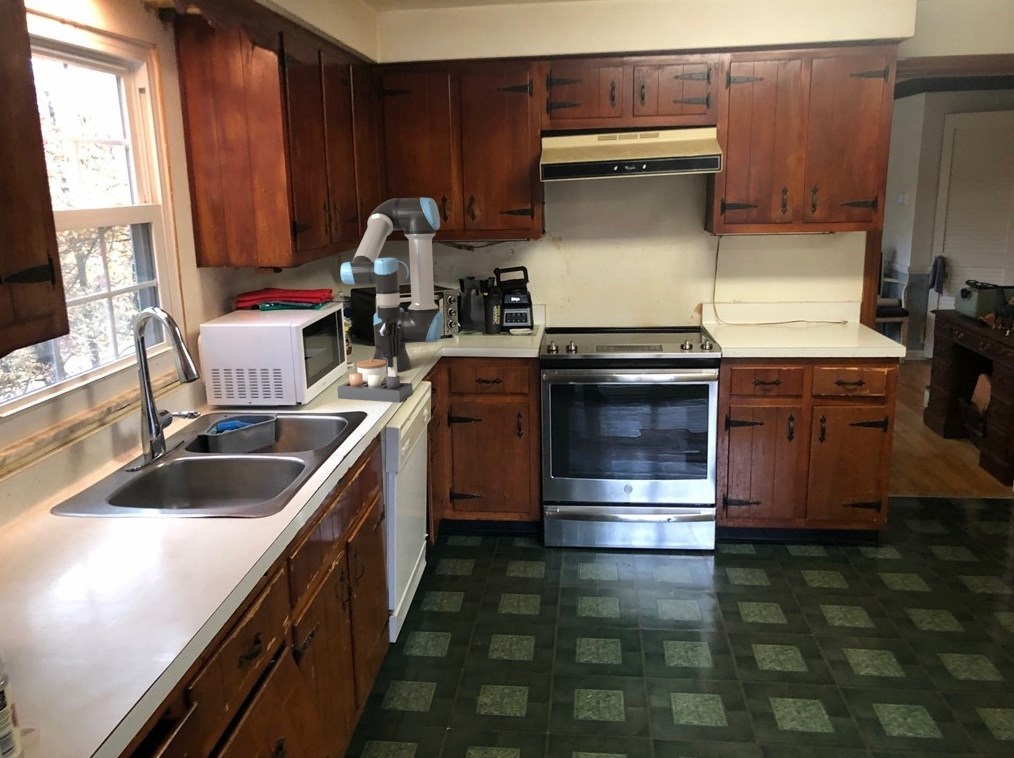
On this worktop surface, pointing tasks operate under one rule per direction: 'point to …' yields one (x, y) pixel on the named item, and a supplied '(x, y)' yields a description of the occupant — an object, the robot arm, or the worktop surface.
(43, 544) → the worktop surface
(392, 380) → the grey cup
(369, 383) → the cream cup
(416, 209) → the robot arm
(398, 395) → the dark grey tray
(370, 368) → the lidded jar
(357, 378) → the pink rounded cylinder
